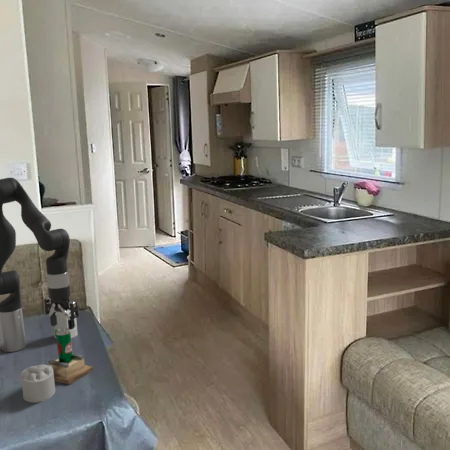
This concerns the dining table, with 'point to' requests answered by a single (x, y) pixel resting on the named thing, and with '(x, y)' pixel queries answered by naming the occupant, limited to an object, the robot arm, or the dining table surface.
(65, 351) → the soda can
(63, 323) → the skincare box
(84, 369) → the display stand
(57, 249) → the robot arm
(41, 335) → the dining table surface
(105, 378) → the dining table surface
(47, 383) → the white cylindrical tub
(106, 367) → the dining table surface
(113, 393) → the dining table surface
